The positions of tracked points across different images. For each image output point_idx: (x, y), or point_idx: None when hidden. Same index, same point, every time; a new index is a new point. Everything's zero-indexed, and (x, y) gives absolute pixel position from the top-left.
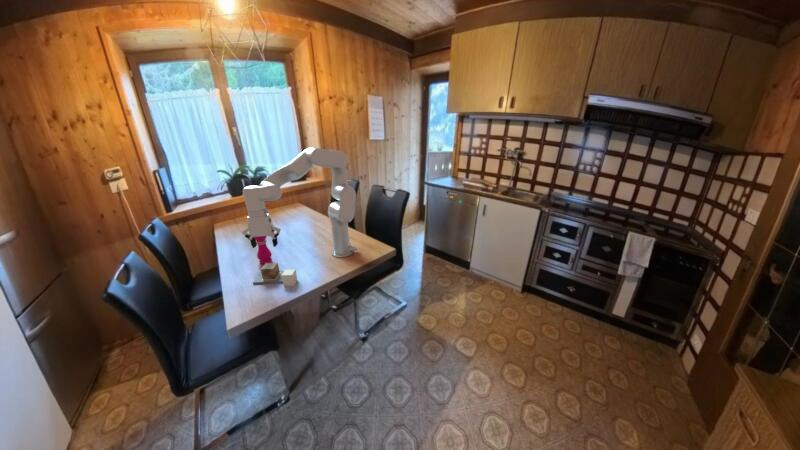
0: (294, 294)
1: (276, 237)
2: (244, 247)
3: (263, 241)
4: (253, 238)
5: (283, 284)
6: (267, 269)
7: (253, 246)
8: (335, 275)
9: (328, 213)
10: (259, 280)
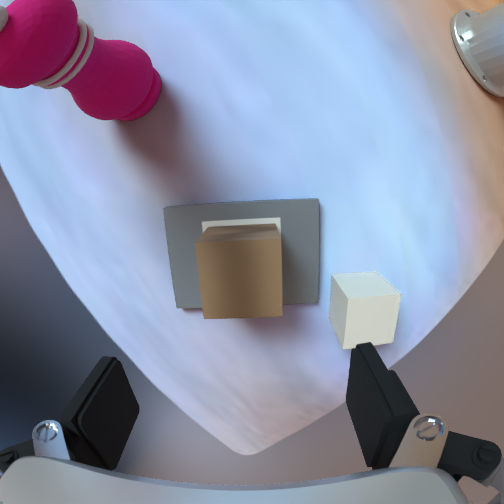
0: None
1: (423, 426)
2: None
3: (73, 55)
4: (86, 453)
5: (331, 321)
6: (246, 315)
7: (132, 422)
8: (497, 241)
9: None
10: (198, 293)
